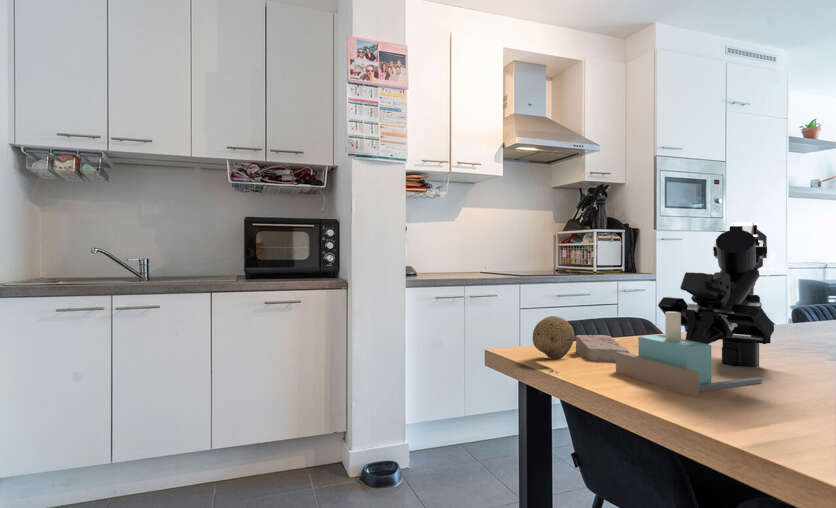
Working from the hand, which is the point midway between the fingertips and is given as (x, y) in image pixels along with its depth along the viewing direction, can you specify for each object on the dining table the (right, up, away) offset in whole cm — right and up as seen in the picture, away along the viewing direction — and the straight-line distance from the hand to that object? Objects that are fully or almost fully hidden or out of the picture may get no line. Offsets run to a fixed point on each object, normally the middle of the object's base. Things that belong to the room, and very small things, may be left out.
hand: (687, 350), depth 80 cm
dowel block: (-3, -5, -1) cm, 6 cm away
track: (+1, -7, 0) cm, 7 cm away
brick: (-7, -7, +21) cm, 24 cm away
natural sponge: (-18, -7, +21) cm, 28 cm away
